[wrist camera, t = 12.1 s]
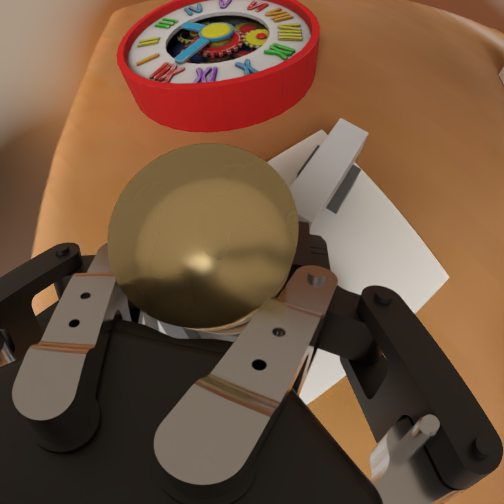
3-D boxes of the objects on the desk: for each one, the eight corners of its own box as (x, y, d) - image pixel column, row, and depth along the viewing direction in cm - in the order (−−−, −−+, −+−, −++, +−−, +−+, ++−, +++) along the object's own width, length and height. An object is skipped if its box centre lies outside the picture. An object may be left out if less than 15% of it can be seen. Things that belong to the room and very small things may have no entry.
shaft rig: (320, 136, 25) (329, 92, 20) (443, 280, 21) (482, 262, 16) (62, 314, 22) (19, 305, 17) (164, 482, 18) (138, 513, 13)
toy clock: (350, 14, 24) (240, 123, 19) (343, 53, 29) (246, 168, 25) (203, -20, 28) (81, 66, 23) (208, 13, 33) (102, 100, 29)
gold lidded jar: (218, 243, 17) (164, 126, 8) (293, 273, 16) (325, 177, 7) (184, 316, 16) (78, 275, 6) (260, 350, 15) (248, 363, 6)
